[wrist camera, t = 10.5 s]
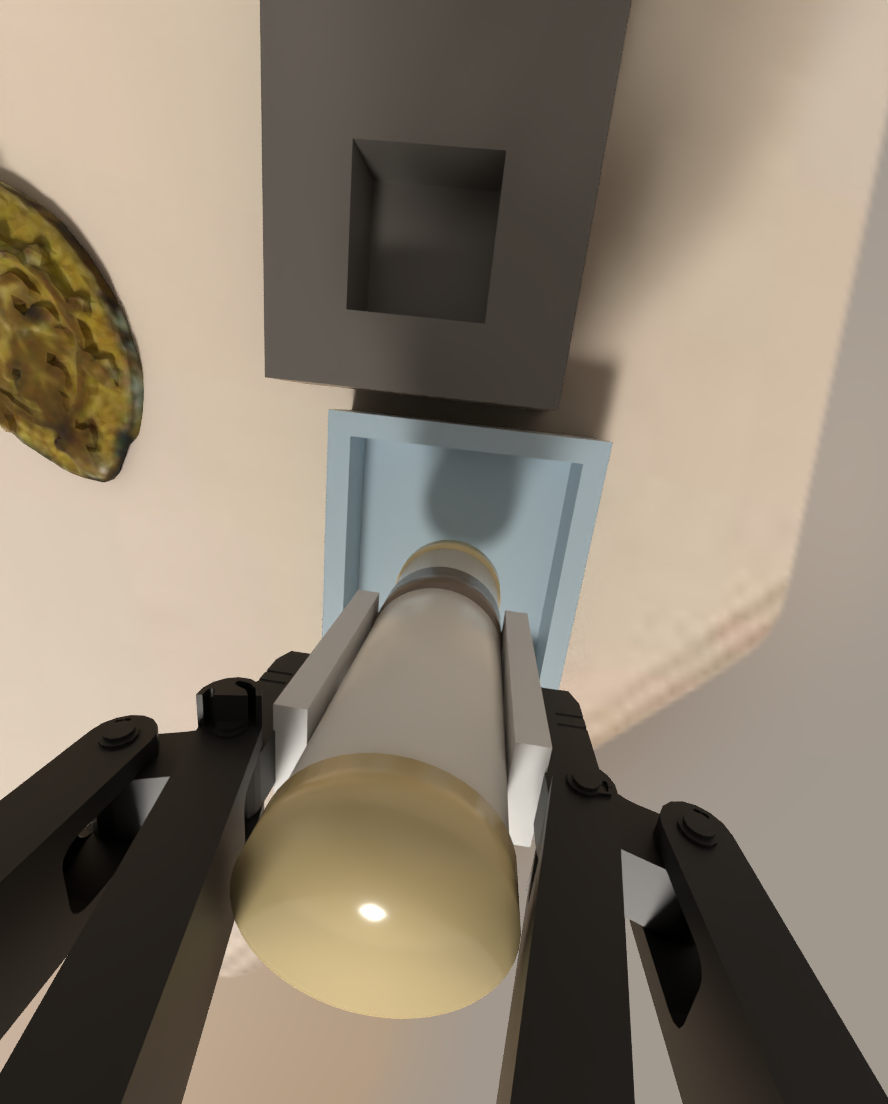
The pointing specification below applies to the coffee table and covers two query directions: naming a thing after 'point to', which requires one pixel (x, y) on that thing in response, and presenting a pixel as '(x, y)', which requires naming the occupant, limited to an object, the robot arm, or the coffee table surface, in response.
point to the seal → (63, 347)
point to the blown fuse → (397, 813)
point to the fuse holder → (431, 190)
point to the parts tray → (463, 512)
